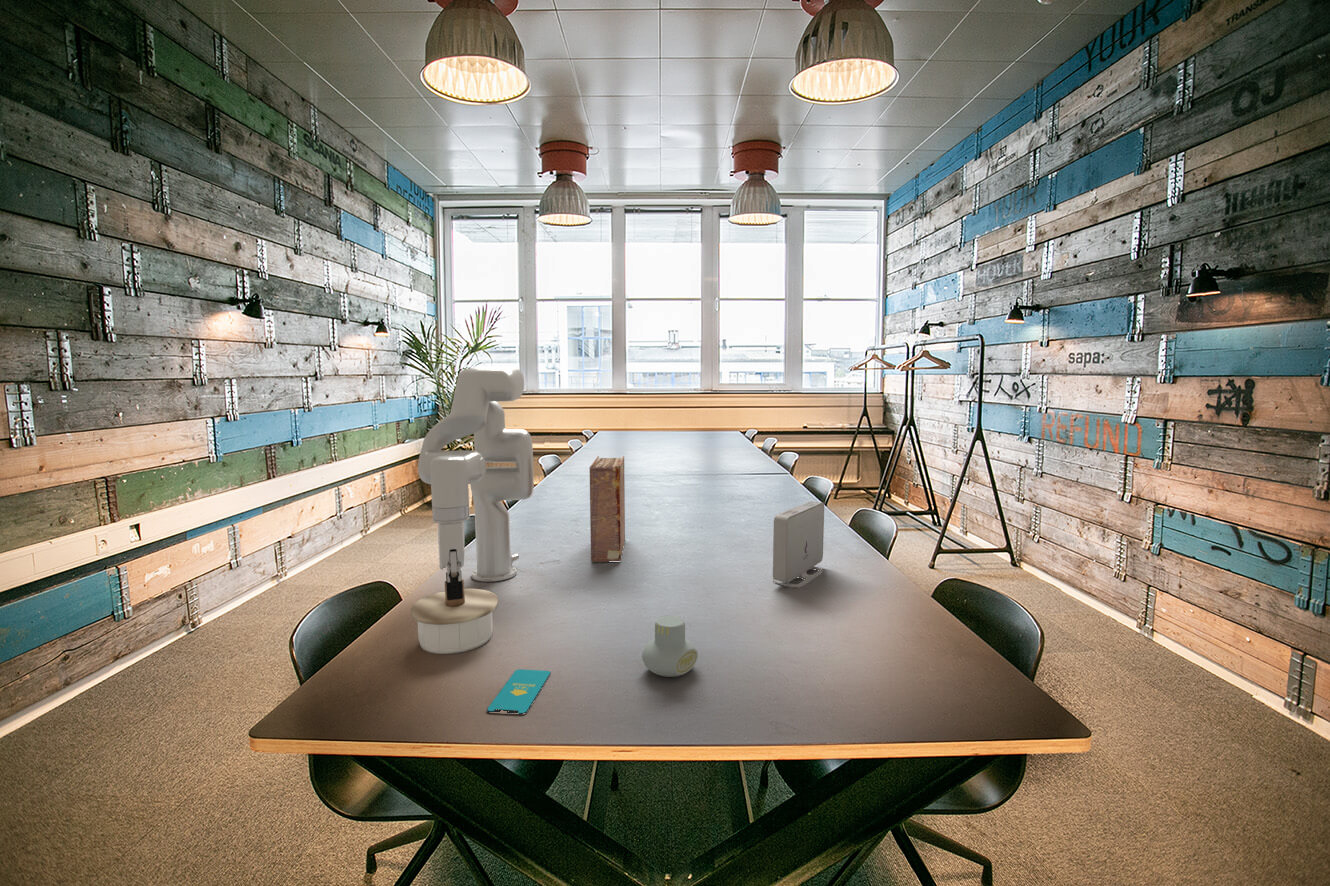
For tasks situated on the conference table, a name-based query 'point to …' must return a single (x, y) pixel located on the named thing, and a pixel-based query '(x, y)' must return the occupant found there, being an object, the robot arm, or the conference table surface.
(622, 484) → the book
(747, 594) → the conference table surface
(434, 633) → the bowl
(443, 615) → the lid
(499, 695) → the smartphone
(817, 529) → the network device
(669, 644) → the air freshener
